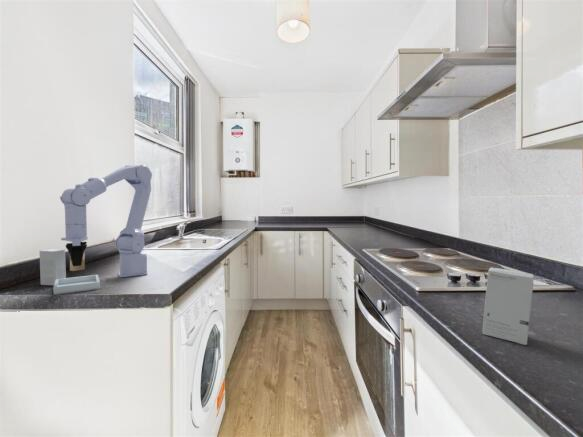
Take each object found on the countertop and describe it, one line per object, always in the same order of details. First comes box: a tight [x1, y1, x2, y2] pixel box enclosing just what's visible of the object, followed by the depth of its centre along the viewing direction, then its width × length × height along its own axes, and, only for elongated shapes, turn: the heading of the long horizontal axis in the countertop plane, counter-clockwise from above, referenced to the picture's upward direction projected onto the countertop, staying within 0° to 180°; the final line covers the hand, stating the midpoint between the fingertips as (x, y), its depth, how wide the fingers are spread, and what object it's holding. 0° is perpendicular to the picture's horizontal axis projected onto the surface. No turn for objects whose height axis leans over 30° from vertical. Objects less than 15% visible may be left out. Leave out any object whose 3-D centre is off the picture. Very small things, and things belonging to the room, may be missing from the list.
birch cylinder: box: [69, 251, 86, 272], centre depth 97 cm, size 4×4×7 cm
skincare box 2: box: [482, 267, 535, 346], centre depth 65 cm, size 8×6×15 cm
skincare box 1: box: [39, 248, 67, 286], centre depth 101 cm, size 6×4×12 cm
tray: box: [52, 274, 101, 296], centre depth 97 cm, size 12×12×2 cm
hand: (77, 264), depth 97 cm, fingers closed on birch cylinder, 4 cm apart
